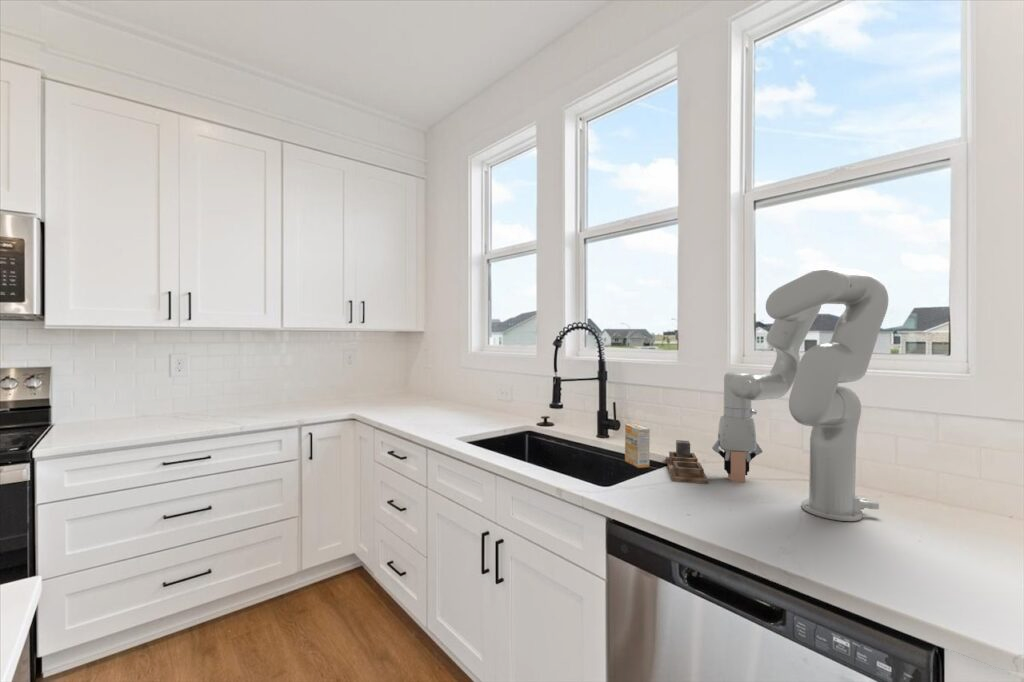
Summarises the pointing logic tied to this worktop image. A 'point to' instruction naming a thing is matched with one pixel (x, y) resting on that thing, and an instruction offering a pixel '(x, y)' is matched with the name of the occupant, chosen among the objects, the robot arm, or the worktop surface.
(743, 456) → the terracotta plug
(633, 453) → the supplement box
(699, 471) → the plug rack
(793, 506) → the worktop surface
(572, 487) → the worktop surface
